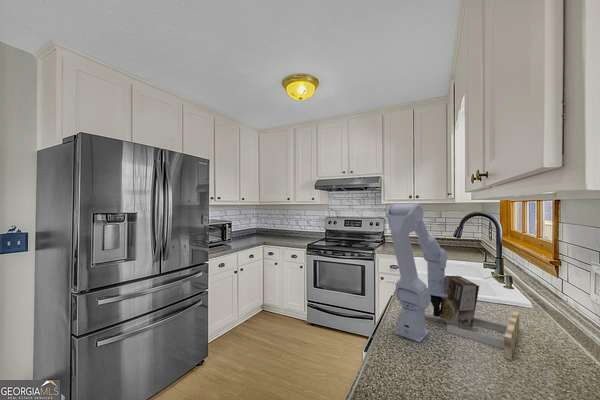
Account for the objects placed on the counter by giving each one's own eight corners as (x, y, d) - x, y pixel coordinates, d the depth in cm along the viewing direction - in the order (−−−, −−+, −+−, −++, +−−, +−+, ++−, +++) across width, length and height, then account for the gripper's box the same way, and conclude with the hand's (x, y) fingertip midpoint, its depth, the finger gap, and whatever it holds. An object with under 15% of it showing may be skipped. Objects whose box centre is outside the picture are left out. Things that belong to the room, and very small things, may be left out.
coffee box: (472, 331, 87) (480, 286, 86) (455, 330, 87) (463, 285, 85) (453, 316, 96) (460, 275, 95) (438, 316, 96) (444, 274, 94)
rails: (506, 350, 76) (506, 341, 76) (446, 331, 87) (446, 324, 87) (512, 333, 85) (511, 326, 85) (457, 319, 96) (457, 312, 97)
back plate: (511, 360, 71) (510, 338, 71) (504, 358, 72) (504, 336, 72) (519, 329, 88) (518, 312, 88) (513, 328, 89) (513, 311, 89)
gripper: (461, 280, 94) (462, 317, 93) (419, 273, 104) (420, 307, 104) (456, 285, 89) (457, 324, 88) (413, 277, 99) (414, 312, 99)
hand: (437, 315), depth 96 cm, fingers closed, pressing on coffee box
